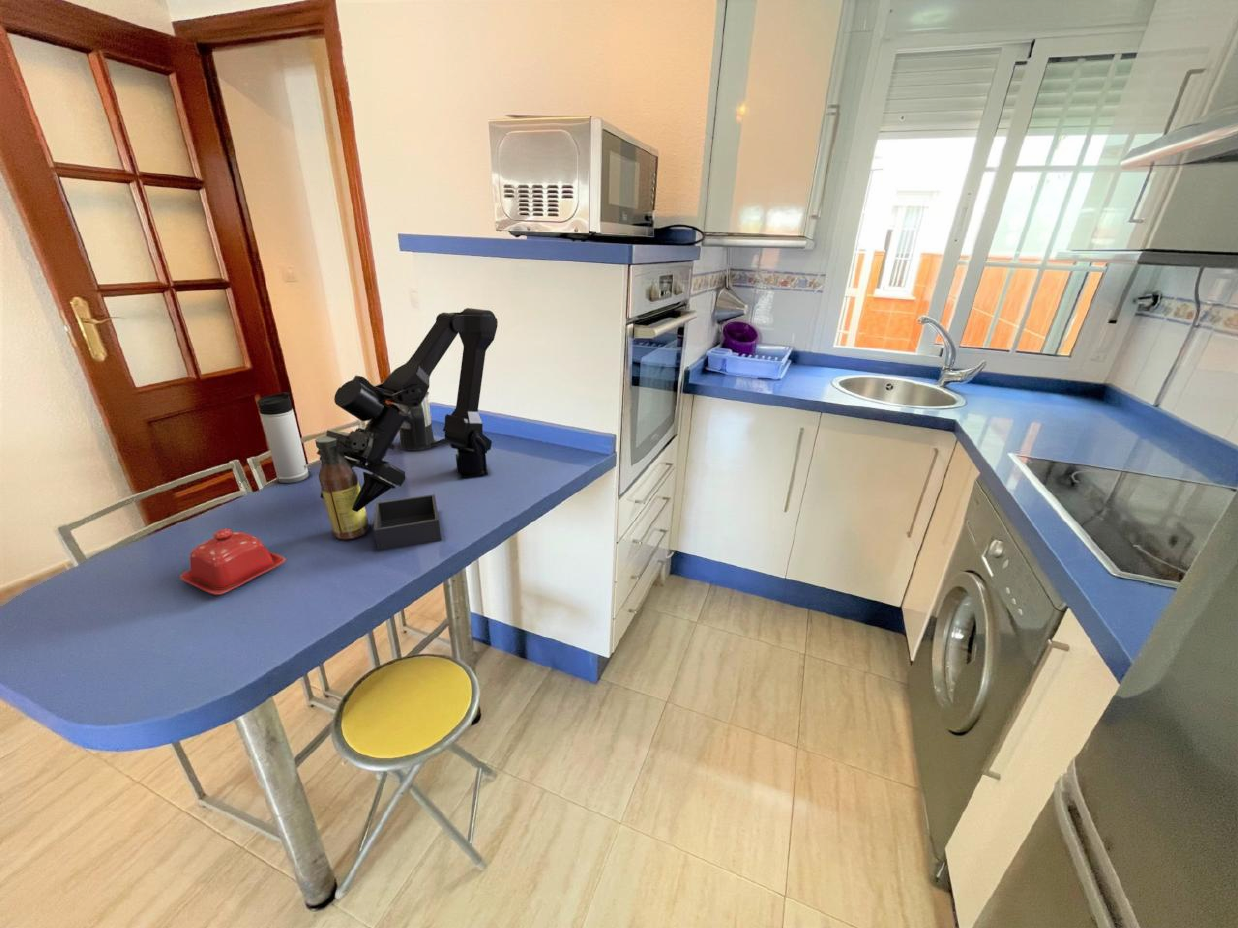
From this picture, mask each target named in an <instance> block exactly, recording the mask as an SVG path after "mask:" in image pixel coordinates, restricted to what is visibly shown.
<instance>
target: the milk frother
mask: <svg viewBox="0 0 1238 928" xmlns="http://www.w3.org/2000/svg"><path fill="white" fill-rule="evenodd" d="M429 394H430V392H429V390H428V391H427V393H426V395H425V397H424V400H423V401H422V403H421V404H420V405H419V406H415V407H408V406H404V405H400V404H396V403H394V405H396V406H397V407H399V408H400V409H402V410H403V409H405V410H409V411H411V416H412V418H413V421H414V424H409V423H405V422H403V424H402V426H401V428H400V429H399V431H398V434H399V442H400V444H399V447H400V448H401V449H402V450H405V451H423V450H426V449H429V448H432V447H434V446H435V445H439V444H442V443H446V442H447V443H448V441H447V439H445V437H443V438H441V439H439V440H437V441H436V440H435V437H434V430H433V425H432V415H431V407H430V400H429Z"/></svg>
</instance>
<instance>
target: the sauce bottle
mask: <svg viewBox="0 0 1238 928" xmlns="http://www.w3.org/2000/svg"><path fill="white" fill-rule="evenodd" d="M314 442H315V446H316V448H317V449H318V450H319V453H320V455H319V457H321V460H320V461H321V466H320V470H319V472H318V480H319V483H320V487H321V491H322V493H323V497H324V499H323V500H324V504H325V509H326V512H327V514H328V518H329V522H330V526H331V529H332V531H333V532H334V533H333V534H334V536H335V537H336V538H337V539H340V540H344V541H345V540H353V539H356V538H357V539H358V538H360V537H362V536H364V535H365V534H366V533H367V532H368V531H369V522H368V521H369V519H368V514H367V510H366V506H365V507H363V508H362V509H360V510H359V511H358V512H356V511H353V510H352V507H353V505H354V502H355V500H356V498H357V496H358V494H359V492H360V490H361V485H360V482H359V478H358V475H357V473H356V472H355V470H354V469H353V467H351V466H350V464H349V463H348V461H347V459H346V458H345V456H344V453H343V452H339V451H335V450H334V449H335V447H336V445H337V439H336V438H332V437H328V436H326V434H325V435H321V436H318V437H317V438H315V440H314Z"/></svg>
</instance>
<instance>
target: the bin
mask: <svg viewBox="0 0 1238 928" xmlns="http://www.w3.org/2000/svg"><path fill="white" fill-rule="evenodd" d="M374 504H375V505H374V518H373V519H374V520H373V521H374V522H373V534H374V539H375V544H376V549H377V552H381V551H387V550H393V549H399V548H405V547H410V546H417V545H421V544H428V543H433V542H439V541H442V533H441V526H440V519H439V512H438V507H437V500H436V495H435V493H433V494H426V495H420V496H412V497H405V498H399V499H391V500H385V501H377V502H375V503H374Z"/></svg>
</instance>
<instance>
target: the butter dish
mask: <svg viewBox="0 0 1238 928" xmlns="http://www.w3.org/2000/svg"><path fill="white" fill-rule="evenodd" d="M286 559H287V558H285V557H283V556H281V555H279V554H277V553H274V552H272V551H269V550H268V549H267V548H266V546H265V544H264V543H263V541H261V540H260V539H259V538H257V537H256V536H253V534H249V533H246V532H242V531H241V532H240V531H233V530H232V529H229V528H223V529H219V530H217V531H215V532H214V533H213V538H211V539H208V540H207V541H205V542H203V543H201V544H199V545H197V546H196V547H195V548H193V550H192V551H191V552H190V555H189V563H190V569H188V570H187V571H184V573H182V574H180V576H179V578H180V580H182V581H183V582H186V583H187V584H190V585H192V586H194V587H196V588H197V589H200V590H201V591H204V592H206V593H208V594H211V595H215V596H221V595H224V594H226V593H228V592H230V591H232V590H234V589H236V588H238V587H240V586H242V585H243V584H245V583H248V582H249V581H252V580H254V579H256V578H258V577H259V576H262V575H263V574H266V573H267V572H269V571H271V570H273V569H276V568H277V567H280V566H281V565H283V564H284V563H285V562H286Z"/></svg>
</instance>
